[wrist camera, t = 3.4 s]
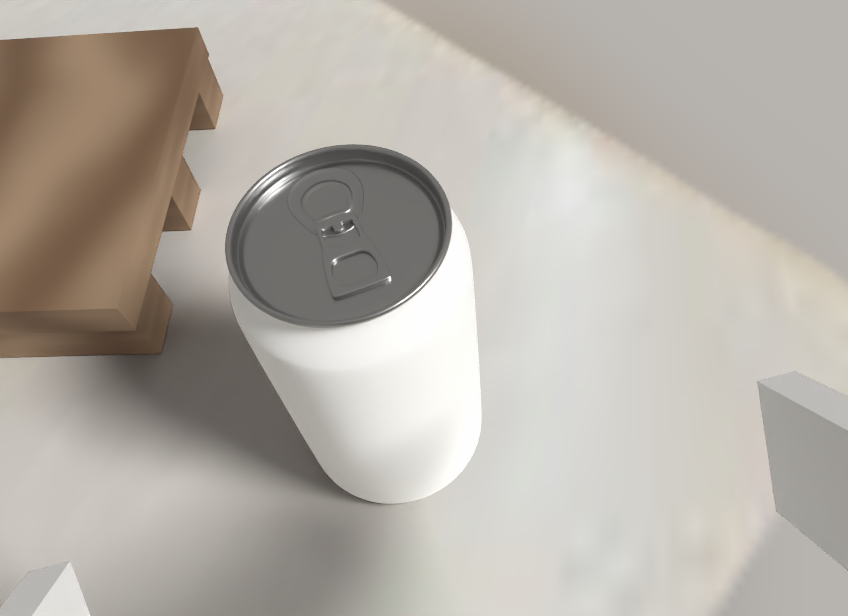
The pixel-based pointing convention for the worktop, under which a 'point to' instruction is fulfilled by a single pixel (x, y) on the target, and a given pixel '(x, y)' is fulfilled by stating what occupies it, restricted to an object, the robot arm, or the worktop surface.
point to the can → (362, 316)
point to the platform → (95, 185)
